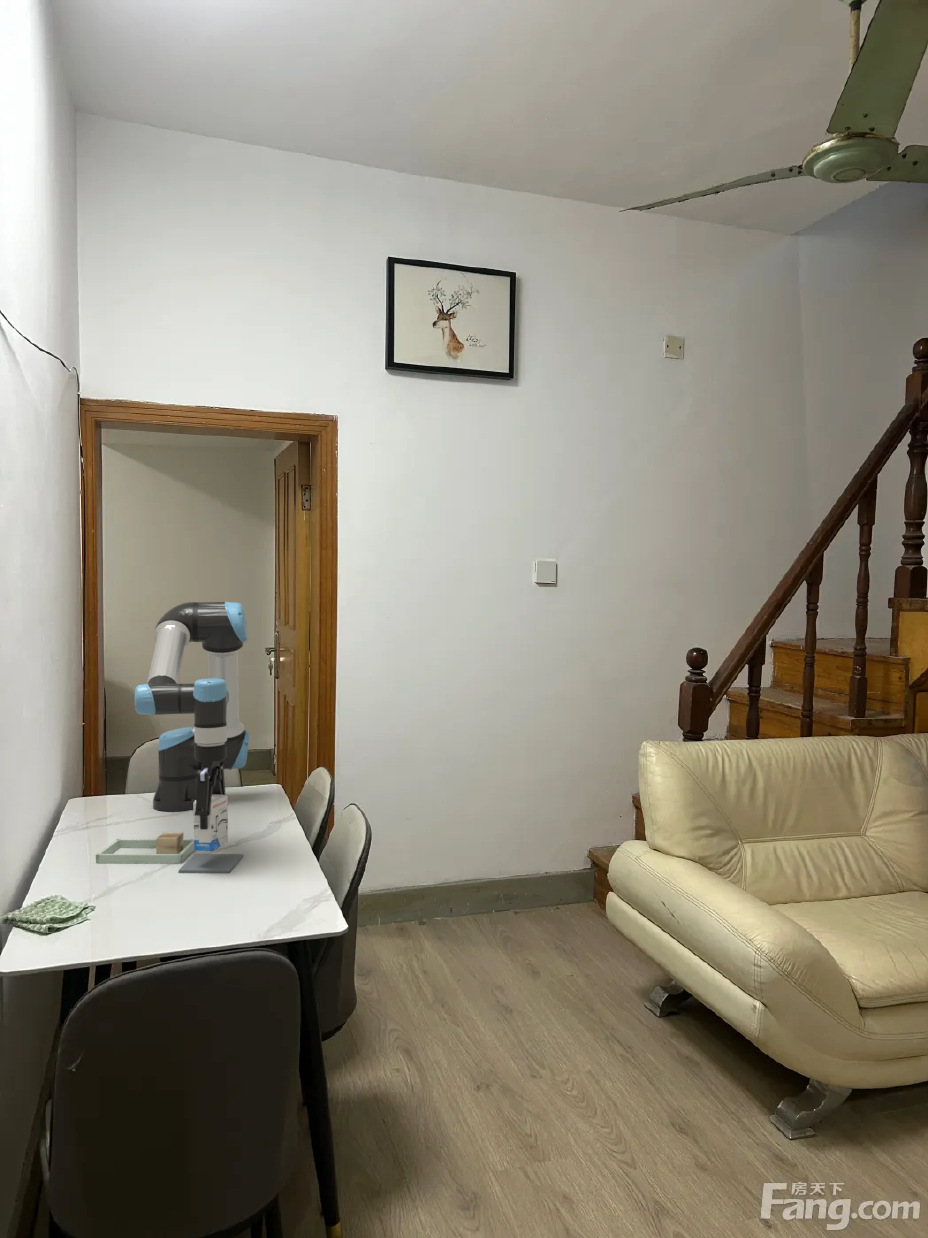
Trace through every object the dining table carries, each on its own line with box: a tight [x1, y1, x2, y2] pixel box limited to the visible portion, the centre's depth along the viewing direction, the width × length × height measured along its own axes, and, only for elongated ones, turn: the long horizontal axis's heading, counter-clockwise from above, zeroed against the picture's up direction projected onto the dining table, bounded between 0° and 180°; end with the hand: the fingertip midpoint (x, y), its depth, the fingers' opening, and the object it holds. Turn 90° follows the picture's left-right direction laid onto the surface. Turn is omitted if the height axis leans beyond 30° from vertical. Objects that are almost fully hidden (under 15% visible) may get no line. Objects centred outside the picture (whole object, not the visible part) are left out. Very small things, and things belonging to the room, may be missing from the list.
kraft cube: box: [155, 832, 184, 854], centre depth 209 cm, size 5×5×5 cm
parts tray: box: [95, 838, 195, 864], centre depth 209 cm, size 13×21×2 cm, turn 90°
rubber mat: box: [178, 853, 244, 874], centre depth 202 cm, size 12×12×1 cm
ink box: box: [192, 794, 229, 852], centre depth 202 cm, size 9×5×12 cm, turn 168°
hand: (211, 835), depth 202 cm, fingers closed on ink box, 9 cm apart
